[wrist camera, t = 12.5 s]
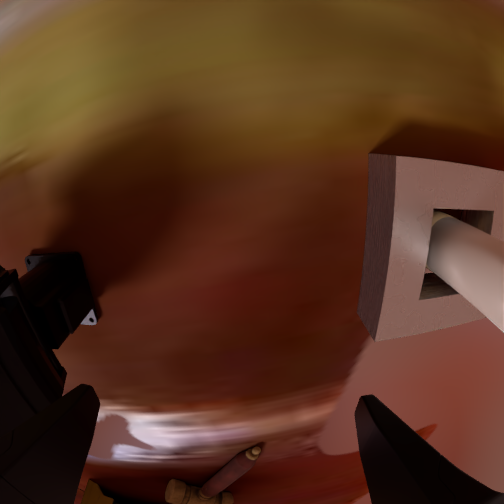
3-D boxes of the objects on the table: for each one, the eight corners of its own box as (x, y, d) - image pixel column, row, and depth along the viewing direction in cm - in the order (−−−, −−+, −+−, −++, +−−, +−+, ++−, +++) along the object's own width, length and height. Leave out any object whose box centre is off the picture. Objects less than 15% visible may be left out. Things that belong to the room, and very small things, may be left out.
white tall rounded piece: (400, 252, 20) (506, 345, 9) (424, 200, 19) (551, 260, 7) (435, 270, 21) (531, 354, 9) (458, 223, 20) (568, 286, 8)
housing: (357, 312, 22) (374, 341, 18) (368, 153, 18) (396, 155, 14) (466, 296, 22) (489, 316, 18) (486, 167, 18) (517, 174, 14)
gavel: (218, 453, 25) (296, 469, 27) (219, 423, 29) (291, 442, 31) (163, 504, 29) (221, 517, 31) (166, 483, 34) (221, 497, 36)
